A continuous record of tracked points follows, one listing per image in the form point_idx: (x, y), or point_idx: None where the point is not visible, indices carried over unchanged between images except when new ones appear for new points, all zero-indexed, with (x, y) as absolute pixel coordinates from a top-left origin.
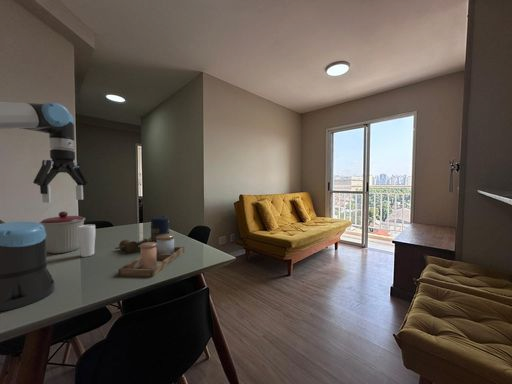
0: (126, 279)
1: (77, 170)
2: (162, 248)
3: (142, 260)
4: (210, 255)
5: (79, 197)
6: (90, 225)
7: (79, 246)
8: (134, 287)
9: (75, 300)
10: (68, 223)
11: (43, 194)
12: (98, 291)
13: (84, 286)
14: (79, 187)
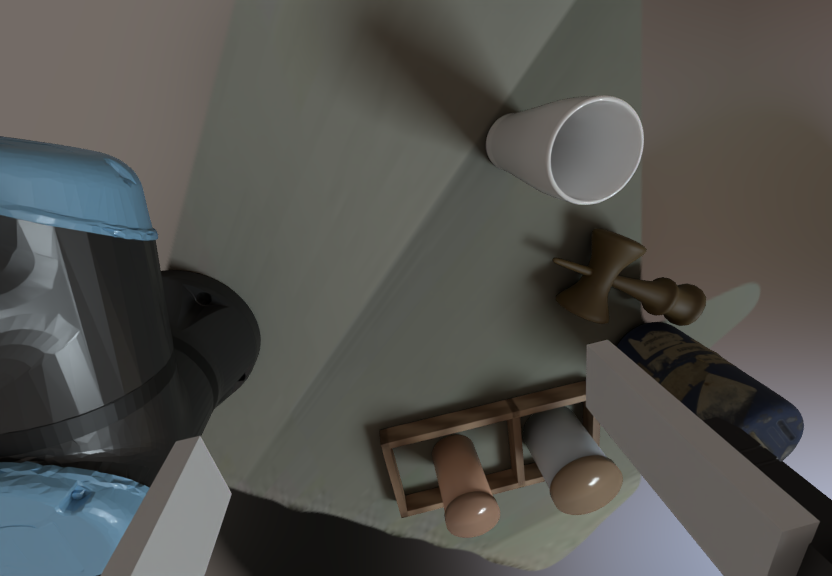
0: (367, 464)
1: None
2: (537, 465)
3: (438, 474)
4: (562, 526)
5: (601, 403)
6: (635, 131)
7: None
8: (340, 508)
9: (246, 458)
10: None
11: (131, 550)
12: (295, 462)
13: (298, 413)
14: (718, 542)
